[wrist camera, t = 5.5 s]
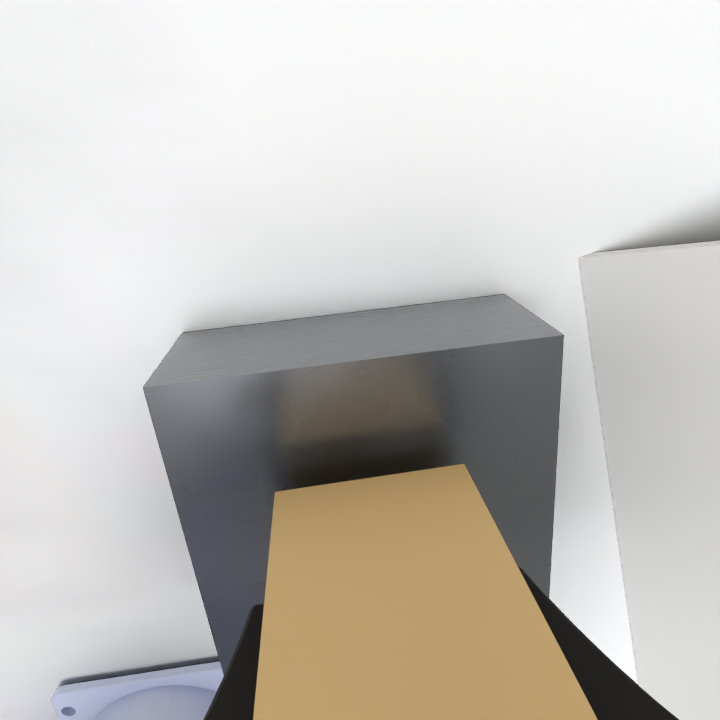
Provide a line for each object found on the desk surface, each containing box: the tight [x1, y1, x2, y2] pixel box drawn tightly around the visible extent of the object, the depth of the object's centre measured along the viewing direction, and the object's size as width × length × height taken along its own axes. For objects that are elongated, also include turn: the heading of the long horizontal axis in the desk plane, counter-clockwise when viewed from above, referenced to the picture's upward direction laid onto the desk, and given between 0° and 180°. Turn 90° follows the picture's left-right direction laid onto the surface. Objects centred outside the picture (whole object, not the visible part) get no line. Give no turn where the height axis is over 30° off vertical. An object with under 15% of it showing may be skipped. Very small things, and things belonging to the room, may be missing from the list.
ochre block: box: [253, 464, 598, 720], centre depth 10 cm, size 4×4×6 cm
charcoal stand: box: [143, 294, 564, 675], centre depth 16 cm, size 10×10×4 cm
